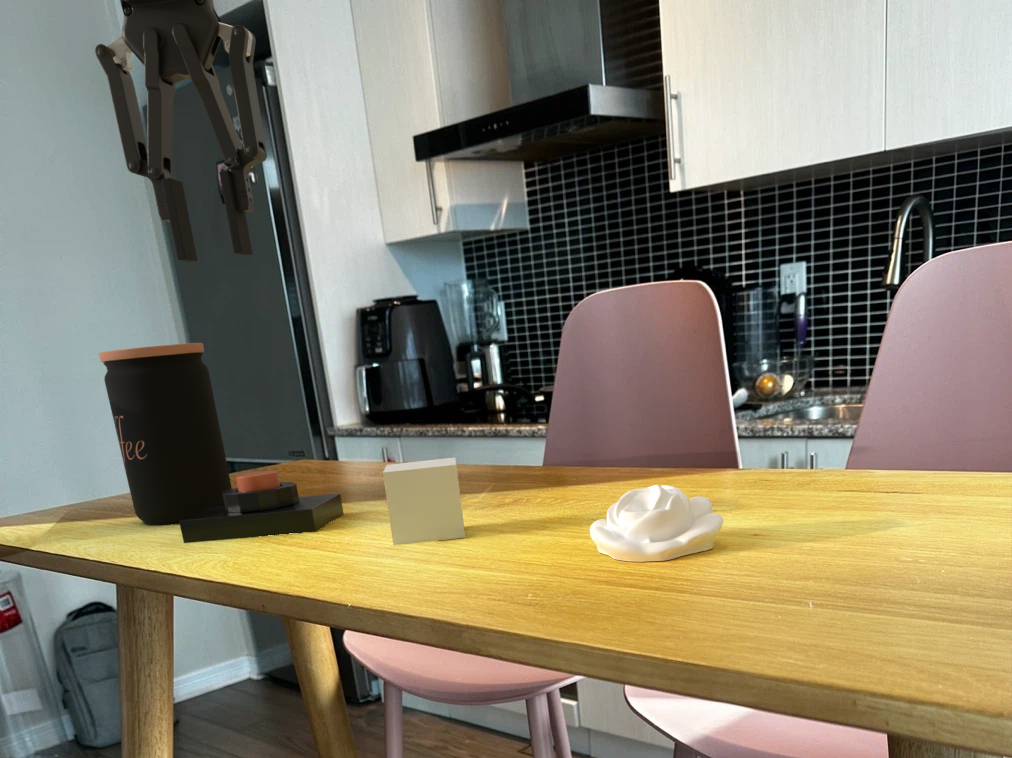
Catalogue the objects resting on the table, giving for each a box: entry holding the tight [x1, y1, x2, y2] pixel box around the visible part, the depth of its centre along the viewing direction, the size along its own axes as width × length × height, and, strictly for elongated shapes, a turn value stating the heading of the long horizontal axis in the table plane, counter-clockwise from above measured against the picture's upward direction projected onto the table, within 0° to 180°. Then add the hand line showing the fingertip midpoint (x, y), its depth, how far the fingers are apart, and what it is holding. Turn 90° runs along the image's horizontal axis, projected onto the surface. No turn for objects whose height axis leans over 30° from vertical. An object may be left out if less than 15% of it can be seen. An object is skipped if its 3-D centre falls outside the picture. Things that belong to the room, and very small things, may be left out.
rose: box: [589, 484, 724, 563], centre depth 73 cm, size 10×4×10 cm
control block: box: [179, 481, 344, 544], centre depth 101 cm, size 13×10×4 cm
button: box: [235, 470, 280, 492], centre depth 100 cm, size 4×4×2 cm
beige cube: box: [382, 457, 466, 546], centre depth 87 cm, size 6×6×6 cm
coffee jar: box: [98, 342, 233, 527], centre depth 112 cm, size 11×11×18 cm
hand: (215, 256), depth 93 cm, fingers open, 5 cm apart
